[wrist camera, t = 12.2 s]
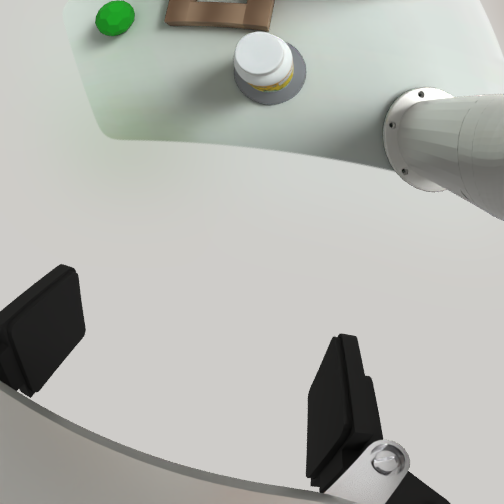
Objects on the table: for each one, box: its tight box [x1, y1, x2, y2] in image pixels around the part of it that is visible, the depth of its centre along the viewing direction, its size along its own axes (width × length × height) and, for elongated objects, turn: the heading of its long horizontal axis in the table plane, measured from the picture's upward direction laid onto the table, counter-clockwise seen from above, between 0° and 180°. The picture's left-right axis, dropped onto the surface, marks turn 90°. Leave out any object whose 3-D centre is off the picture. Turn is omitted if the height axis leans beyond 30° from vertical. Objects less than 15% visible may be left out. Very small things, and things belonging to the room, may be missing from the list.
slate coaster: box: [234, 41, 306, 104], centre depth 31 cm, size 8×8×1 cm
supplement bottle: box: [234, 32, 294, 92], centre depth 26 cm, size 5×5×10 cm
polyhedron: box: [95, 1, 135, 36], centre depth 27 cm, size 5×5×5 cm
